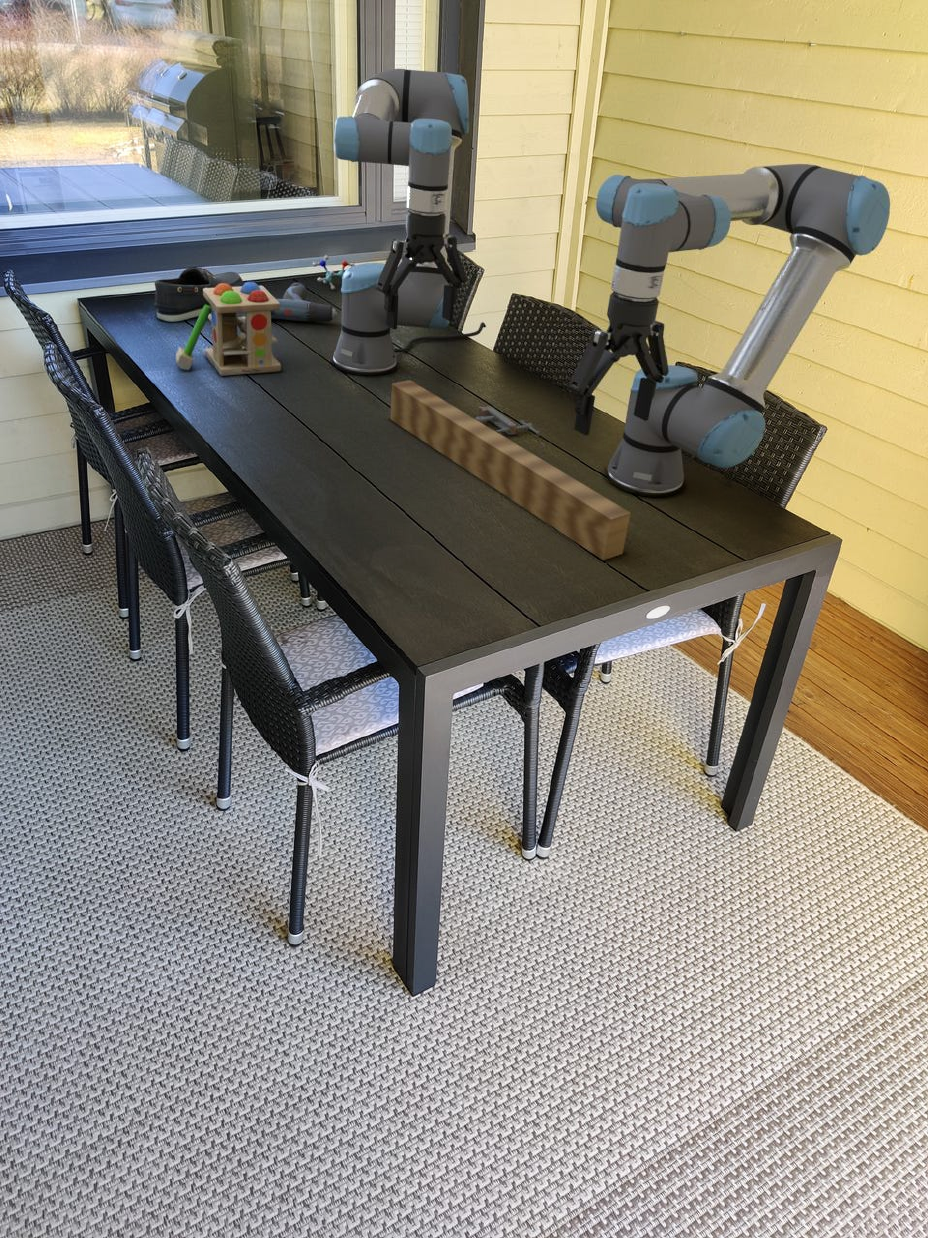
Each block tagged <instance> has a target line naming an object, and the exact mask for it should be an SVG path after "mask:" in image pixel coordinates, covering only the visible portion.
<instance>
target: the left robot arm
mask: <svg viewBox="0 0 928 1238" xmlns="http://www.w3.org/2000/svg"><path fill="white" fill-rule="evenodd" d="M469 108H470V107H469V92H468V83H467V80H466V78H465V77H464V76H463V75H461V74H454V73H448V72H447V71H444V72H441V71H430V70H429V71H428V70H417V69H406V68H390V69H386V70H383V71H380V72H378V73H375V74H373V75H371V76H369V77H368V78H366V79H365V80H364V81H363V82H362V83H361V84H360V86H359V87H358V89H357V92H356V94H355V98H354V112H353V115H352V116H350V115H349V116H339V117H337V118H336V119H335V123H334V136H333V143H334V154H335V157H336V158H337V159H339V160H341V161H349V162H351V163H356V162H357V163H369V164H380V165H381V164H383V165H391V166H403V167H408V181H407V193H406V208H407V209H408V210H407V211H406V213H405V214H406V216H405V233H406V238H405V240H399V239H396V238H393V239H392V240H391V242H390V243H391V244H390V251H389V253H388V256H387V258H386V261H385V262H384V263H383V262H366V263H360V264H359V263H358V264H356V265H355V266H352V267H351V266H349V267H348V268H346V270H344V271H343V272H344V274H343V279H342V278H341V279H342V281H341V288H340V293H341V319H340V321H341V324H340V325H341V326H340V329H341V330H340V336H339V338H338V341H337V344H336V348H335V350H334V352H333V361H332V362H333V363H332V364H333V366H334V367H335V368H337V369H338V370H339V371H342V372H344V373H347V374H352V375H356V376H380V375H381V376H382V375H386V374H389V373H391V372H393V371H395V369H396V368H397V361H398V360H397V354H396V353H398V354H400V353H401V354H402V353H405V352H407V351H408V350H409V349H410V347H411V346H412V345H413V344H414V343H417V342H421V341H428V340H429V341H430V340H431V341H432V340H450V339H462V338H472V337H475V336H478V335H480V334H481V333H482V331H483V329H484V328H487V325H486V324H485V322H483V321H482V322H480V324H479V327H478V330H476V331H472V332H469V333H458V334H445V335H427V336H426V335H425V336H424V335H423V336H418V337H415V338H412V339H409V341H408V342H407V343H406V345H405V346H404V347H402V348H395V347H394V343H393V341H392V337H391V336H392V335H391V329H392V330H397V329H398V326H400V327H401V326H402V327H410V328H411V327H412V328H423V329H428V330H429V329H430V330H431V329H445V328H447V327H448V326H449V325H450V323H451V322H452V321H453V320H454V306H455V303H457V301H458V290H459V289H461V288H462V285H463V284H466V283H467V280H468V278H467V276H466V271H465V269H464V266H463V263H462V259H461V257H460V254H459V250H458V238H457V237H456V236H454V235H451V234H449V233H450V220H451V219H450V218H451V206H452V205H451V204H452V191H453V190H452V189H453V173H454V164H455V163H454V159H455V151H456V149H457V148H458V146H460V145H461V144H462V142H463V135H467V134H469V132H470V118H469V117H470V110H469ZM448 261H449V263H448Z"/></svg>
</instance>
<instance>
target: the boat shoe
mask: <svg viewBox="0 0 928 1238" xmlns="http://www.w3.org/2000/svg"><path fill="white" fill-rule="evenodd" d="M221 283H226V284H228V285H230V286H231V287H242V286H243V285H244V280H243V278H242V277H241V275H240V274H239V273H238V272H235V271H227V272H221V273H216V274H213V273H211V271H209V270H208V269H206V268H203V267H197V266H195V265H193V266H190V267H187V268H186V269H184V270H183V271H182V272H181V273H180V274H179V276H178V277H176V278H175V277H174V278H161V279H156V280H154V287H155V298H154V299H155V302H154V303H153V305H154V306H155V307H156V308H157V309H156V317H157V319H159V320H161V321H164V322H171V323H172V322H181V321H185V320H189V319H192V318H196V317H199V316H200V314H201V311H202V309H203V307H204V305H208V306H210V307H211V305H210V304H209V302H208V301H207V300H206V299H205V297H204V296H203V289H204V288H215V287H216V286H217V285H218V284H221Z"/></svg>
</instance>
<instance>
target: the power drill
mask: <svg viewBox="0 0 928 1238" xmlns="http://www.w3.org/2000/svg"><path fill="white" fill-rule="evenodd" d="M307 295H308V290H307V287H306V285H304V284H303V283H301V282H293V283H292V284H291V285H290V286H289V287H288V288H287V289H286V291H285V292H284V294H283V297H282V298H275V299H276V300H277V301H278V302H279V303H280V310H271V319H274V320H275V319H276V320H283V321H294V322H295V321H297V322H332V321H333V320H334V319H336V318H337V317H338V312H337V311H336V308H334V307H333V306H332V305H331V304H324V303H317V302H313V301H307V300H305V299H306V297H307Z"/></svg>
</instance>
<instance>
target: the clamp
mask: <svg viewBox="0 0 928 1238" xmlns="http://www.w3.org/2000/svg"><path fill="white" fill-rule="evenodd" d="M474 419H475V420H477V421H479V422H480V423H482V424H484V423H486V422H491V423H492V424H494V426H496V427H498V428H499V429H496V430H495V432H497V433H506V434H507V435H509V436H514V435H516V431H521V430H526V431H529V430H530V431H532V432H533V433H535V434H536V436H537V437H540V436H541V434H542V433H541V431H540V430H536V429H535V428H533V424H532V423H531V422H529V423H526V422H525V421H524V419H520V420H519V424H520V425H518V426H517V424H516V423H515V422H513V421H512V420H510V419H509V418H507V417H506V416H505V415H503V414H502V413H501V412H500V411H498V410H497V409H496V408H494V407H492V406H491V405H488V406H479V407H478V410H477V416H475V417H474Z"/></svg>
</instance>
